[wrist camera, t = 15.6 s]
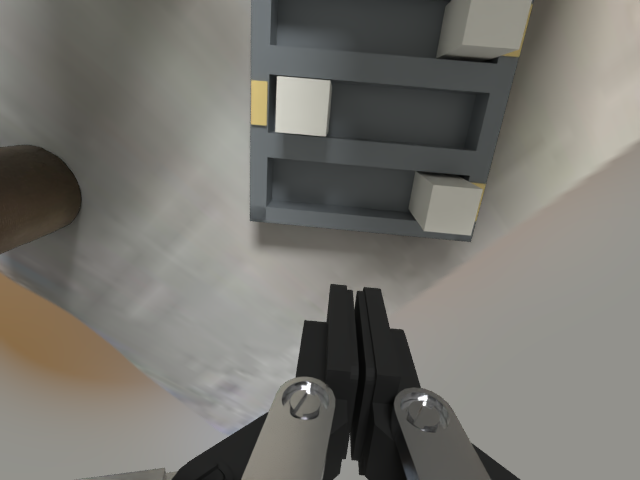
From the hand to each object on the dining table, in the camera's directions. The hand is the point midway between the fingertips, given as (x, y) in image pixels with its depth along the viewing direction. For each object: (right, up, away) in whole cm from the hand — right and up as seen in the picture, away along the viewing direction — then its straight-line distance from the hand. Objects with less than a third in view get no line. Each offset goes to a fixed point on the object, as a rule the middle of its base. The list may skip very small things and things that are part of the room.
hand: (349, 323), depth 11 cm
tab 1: (+10, +8, +23) cm, 27 cm away
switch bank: (+4, +15, +22) cm, 27 cm away
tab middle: (-2, +15, +21) cm, 26 cm away
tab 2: (+12, +21, +18) cm, 30 cm away
